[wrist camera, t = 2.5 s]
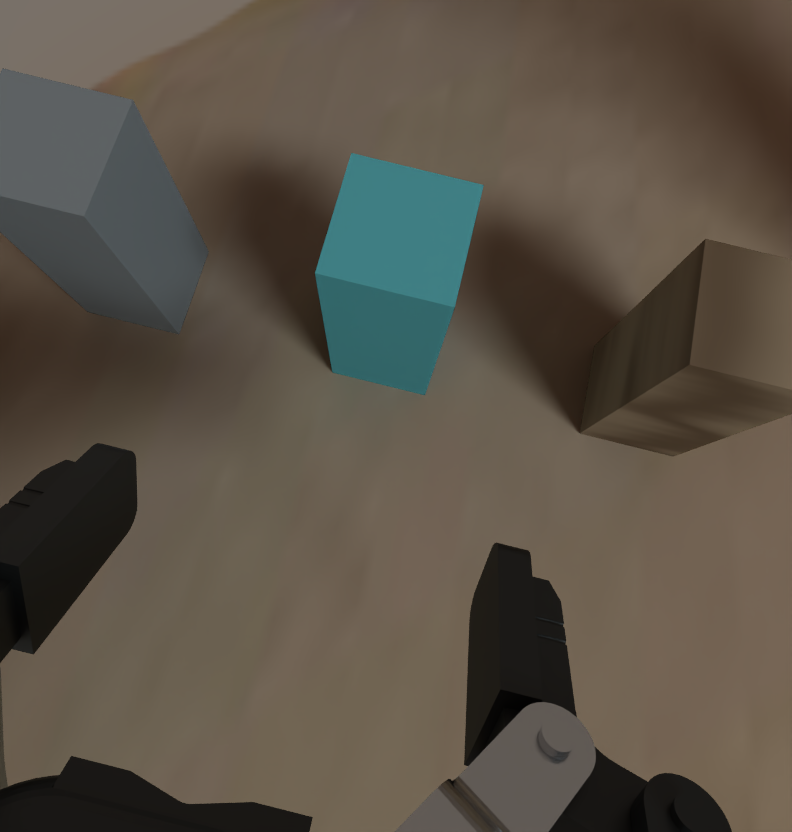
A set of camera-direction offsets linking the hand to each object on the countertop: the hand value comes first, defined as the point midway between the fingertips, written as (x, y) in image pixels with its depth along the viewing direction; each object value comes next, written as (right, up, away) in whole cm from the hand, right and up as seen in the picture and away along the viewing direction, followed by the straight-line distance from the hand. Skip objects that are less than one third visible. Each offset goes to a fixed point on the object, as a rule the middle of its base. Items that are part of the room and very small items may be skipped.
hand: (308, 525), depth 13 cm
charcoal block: (-10, +9, +16) cm, 21 cm away
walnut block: (+13, +3, +16) cm, 21 cm away
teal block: (+2, +6, +16) cm, 17 cm away
